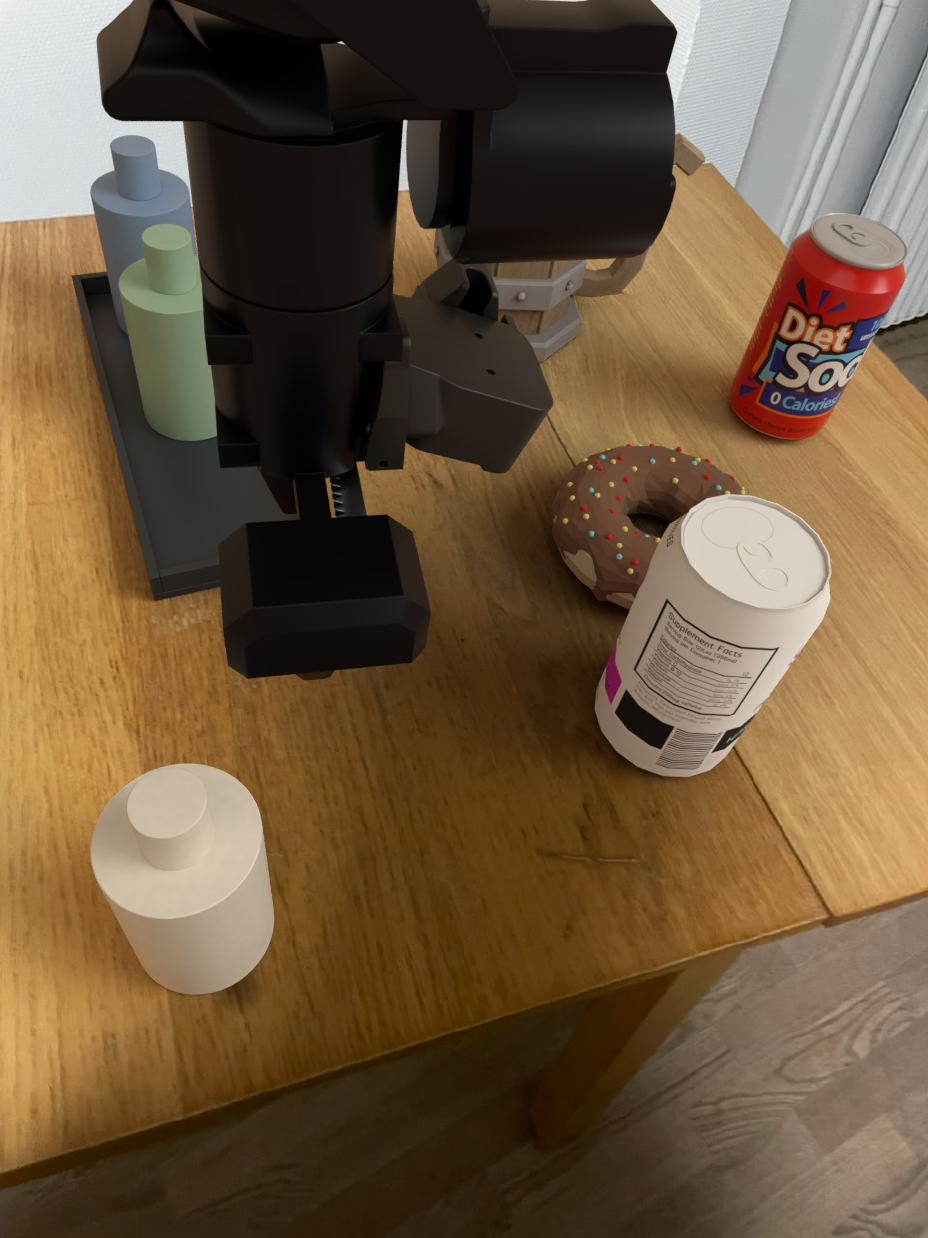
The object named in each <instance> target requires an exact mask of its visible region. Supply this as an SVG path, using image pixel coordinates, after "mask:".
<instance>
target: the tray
mask: <svg viewBox="0 0 928 1238" xmlns="http://www.w3.org/2000/svg"><path fill="white" fill-rule="evenodd" d="M70 277H71V281H72V285H73V289H74V293H75V297H76V301H77V304H78V305H77V306H78V309H79V312H80V318H81V320H82V324H83V329H84V333H85V336H86V341H87V344H88V347H89V350H90V355H91V360H92V363H93V367H94V371H95V375H96V378H97V383H98V387H99V391H100V395H101V399H102V402H103V407H104V410H105V413H106V417H107V422H108V426H109V429H110V433H111V437H112V441H113V444H114V449H115V452H116V457H117V460H118V465H119V469H120V472H121V473H120V474H121V477H122V480H123V485H124V488H125V492H126V496H127V500H128V503H129V507H130V513H131V515H132V520H133V524H134V527H135V531H136V535H137V539H138V543H139V545H140V546H139V547H140V550H141V554H142V558H143V561H144V566H145V569H146V574H147V577H148V582H149V585H150V589H151V593H152V597H153V600H154V601H155V602H157V601H161V600H166V599H171V598H176V597H181V596H184V595H189V594H193V593H198V592H202V591H208V590H212V589H215V588H220V572H219V555H218V544H219V543H221V542H222V541H223V540H225V539H226V538H227V537H228V536H230V535H231V534H232V533H234V532H235V531H236V530H237V529H239V528H240V527H241V526H242V525H244V524H245V523H251V522H267V521H284V520H298V518H297V514H284V513H283V512H282V510H281V509H280V507H279V505H278V504H277V502H276V500H275V499H274V497H273V495H272V493H271V492H270V490H269V488H268V486H267V484H266V482H265V481H264V479H263V477H262V475H261V473H260V471H259V469H258V467H239V468H220V462H219V454H218V445H217V436H216V437H213V438H210V439H205V440H199V441H182V440H176V439H171V438H168V437H166V436H163V435H161V434H160V433H158V432H156V431H155V430H154V429H153V428H152V427H151V426H150V425H149V424H148V422H147V420H146V418H145V414H144V409H143V404H142V399H141V394H140V389H139V384H138V379H137V374H136V369H135V365H134V360H133V355H132V350H131V345H130V340H129V335H127V334H126V333H125V332H124V331H123V330H122V329H121V328H120V326H119V324H118V321H117V317H116V312H115V307H114V303H113V298H112V293H111V289H110V284H109V279H108V274H107V271H100V272H99V271H97V272H89V273H80V274H72V275H70Z"/></svg>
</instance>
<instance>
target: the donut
mask: <svg viewBox="0 0 928 1238" xmlns="http://www.w3.org/2000/svg"><path fill="white" fill-rule="evenodd" d="M682 450H683V449H682V446H676V447H675V448H674V447H672V446H670V447H669V448H668V447H665V446H662V445H655V444H654V443H650V444H649V445H643V444H641V443H638V444H637V445H632V444H631V443H627V444H625V445H620V446H617V447H613V448H610V447H609V446H608V447H606V448H604V451H600V452H597V453H594V454H591V455H590V456H588V457H583V458H582V460H581V461H580V462H579V463H578V464H576V465H575V466H573V467H572V468H571V469H570V470H569V471H568V472H567V474H566V476H565V478H564V480H563V482H562V485H561V486H560V488H559V490H558V492H556V493H557V494H556V497H555V499H554V500H553V502H552V504H551V506H550V508H549V511H548V517H547V520H548V522H549V524H550V526H551V527H552V528H551V530H550V532H551V536H552V539H553V541H554V544H555V545H556V547H557V549H558V550H559V553H560V555H561V557H562V560H563V562H564V564H565V565H566V566H567V567H568V568H569V569H570V571H571V572H572V573H573V574H574V576H576V578H577V579H578V580H579V581H580V582H581V583H582V584H584V585H585V586H586V587H588V588H589V589H590V591H591V592H592V594H593V595H594V597H595V598H596V599H597V601H598V602H603V601H604V602H605V601H606V602H607V601H609V602H612V603H613V604H616V605H618V606H620V607H622V608H624V609H628V610H630V609H631V607H632V604H633V602H634V600H635V597H636V595H637V593H638V590H639V588H640V586H641V583H642V581H643V578H644V576H645V574H646V571H647V569H648V567H649V564H650V562H651V560H652V557H653V555H654V553H655V550H656V548H657V546H658V543H659V541H660V540H661V538H662V537H660V536H656V535H652V534H650V533H646V532H644V531H642V530H641V529H639V528H638V527H636V526H634V524H633V522H632V521H631V519H630V517H629V515H638V514H643V515H644V514H645V515H649V516H654V517H658V518H660V519H662V520H664V521H666V522H668V523H669V524H671V523H672V522H674V521H676V520H677V519H679V518H680V517H682V516H683V515H685V514H686V513H688V512H689V511H690V509H691V508H693V507H694V506H696V505H697V504H699V503H701V502H702V501H704V500H705V499H707V498H711V497H716V496H721V495H726V494H735V495H747V494H746V491H745V490H746V489H745V486H741V485H740V484H739V482H737V480H736V478H735V476H733V475H732V474H728V473H725V472H723V471H722V470H721V469H720V468H718V466H716V465H714V464H712V463H711V460H710V459H709V458H705V459H702V458H700V457H695V456H692V455H689V454H687V453H683V452H682Z"/></svg>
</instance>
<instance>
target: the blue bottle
mask: <svg viewBox="0 0 928 1238" xmlns="http://www.w3.org/2000/svg"><path fill="white" fill-rule="evenodd" d="M109 149H110V155H111V159H112V165H113V170H111V171H108V172H106V173H104V174H102V175H101V176H99V177H97V178H96V179H95V180H94V181H93V183H92V185H91V187H90V192H89V194H90V198H91V199H90V200H91V203H92V208H93V213H94V218H95V222H96V227H97V232H98V238H99V242H100V246H101V250H102V255H103V260H104V265H105V269H106V272H107V274H108V279H109V284H110V289H111V293H112V298H113V303H114V307H115V312H116V317H117V321H118V324H119V326H120V328H121V329H122V330H123V331H124V332H125V333H126V334H127V335H128V330H127V325H126V321H125V316H124V311H123V306H122V301H121V296H120V291H119V286H118V284H119V279H120V276H121V274H122V273H123V271H124V270H125V269H126V268H127V267H128V266H130V265H131V264H133V263H134V262H136V261H138V260H141V259H143V258H145V255H144V249H143V244H142V233H143V232H144V231H145V230H146V229H147V228H149V227H151V226H154V225H158V224H174V225H178V226H181V227H183V228H185V229H186V230H188V231H189V233H190V235H191V239H192V247H193V255H194V256H196V257H198V249H197V241H196V232H195V224H194V216H193V208H192V200H191V192H190V189H189V188H190V187H189V186H188V184H187V183H186V182H185V180H183V179H182V177H180V176H178V175H176V174H174V173H172V172H170V171H168V170H164V169H161V168H159V163H158V157H157V148H156V144H155V142H154V141H153V140H151V139H150V138H148V137H146V136H142V135H137V134H136V135H135V134H129V135H122V136H121V135H120V136H118V137H116V138H114V139H113V140H111V142H110V143H109Z"/></svg>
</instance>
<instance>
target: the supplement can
mask: <svg viewBox="0 0 928 1238" xmlns="http://www.w3.org/2000/svg"><path fill="white" fill-rule="evenodd" d="M660 538H661V540H660V541H659V543H658V546H657V548H656V550H655V553H654V555H653V557H652V560H651V562H650V564H649V567H648V569H647V571H646V574H645V576H644V578H643V581H642V583H641V586H640V588H639V590H638V593H637V595H636V597H635V600H634V602H633V604H632V607H631V609H629V610H628V611H629V612H628V614H627V616H626V619H625V621H624V623H623V625H622V628H621V630H620V632H619V635H618V638H617V640H616V642H615V644H614V647H613V649H612V652H611V654H610V657H609V658H608V661H607V663H606V665H605V668H604V670H603V673H602V675H601V678H600V680H599V682H598V684H597V686H596V690H595V699H594V700H595V701H594V712H595V715H596V718H597V721H598V724H599V729H600V731H601V733H602V734H603V735H604V737H605V738H606V739H607V741H608V742H609V744H610V745H611V746H612V748H613V749H614V750H615V751H616V753H618V754H619V755H621V756H622V757H623V758H625V759H626V760H628V761H629V762H630V763H632V764H633V765H635V767H637V768H640V769H642V770H645V771H648V772H650V773H653V774H656V775H659V776H661V777H675V778H677V777H678V778H691V777H692V776H696V775H699V774H700V775H701V774H703V773H705V772H709V771H712V769H713V768H714V767H716V766H717V765H718V764H719V763H720V762H722V761H723V760H724V759H725V758H726V757H727V756H728V754H729V753H730V752H731V750H732V749H733V747H735V745H736V743H737V741H738V740H739V739H740V737H741V736H742V734H744V732H745V730H746V729H747V728H748V726H749V725H750V723H751V722H752V720H753V719H754V718H755V717H756V715H757V713H758V712H759V711H760V709H761V708H762V707H763V705H764V704H765V702H766V701H767V699H768V698H769V697H770V695H771V694H772V693H773V691H774V689H775V688H776V687H777V685H778V684H779V682H780V681H781V680H782V678H783V677H784V675H785V674H786V672H787V671H788V669H789V668H790V667H791V665H792V664H793V663H794V661H795V660H796V659H797V657H798V655H799V654H800V653H801V651H802V650H803V649H804V647H805V646H806V644H807V643H808V641H810V638H811V637H812V636H813V634H814V633H815V632H816V630H817V629H818V627H819V626H820V624H821V623H822V622H823V620H824V617H825V616H826V613H827V610H828V607H829V604H830V603H831V600H832V599H831V590H830V579H831V576H832V566H831V564H832V563H831V557H830V552H829V551H828V549H827V547H826V545H825V544H824V542H823V540H822V539H821V536H820V535H819V533H818V532H816V531H815V530H814V528H812V527H811V526H810V525H809V523H807V522H806V521H805V520H804V519H803V518H802V517H801V516H799V515H798V514H796V513H794V512H792V511H791V510H789V509H788V508H785V507H784V506H783V505H781V504H779V503H776V502H773V501H770V500H768V499H765V498H761V497H758V496H754V495H748V494H746V495H735V494H726V495H721V496H716V497H711V498H707V499H705V500H704V501H702V502H701V503H699V504H697V505H696V506H694V507H693V508H691V509H690V511H689V512H688V513H686V514H685V515H683V516H682V517H680V518H679V519H677V520H676V521H674V522H672V523H669V525H668V526H667V528H666V530H665V531H664V532H663V535H662V536H661V537H660Z"/></svg>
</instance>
